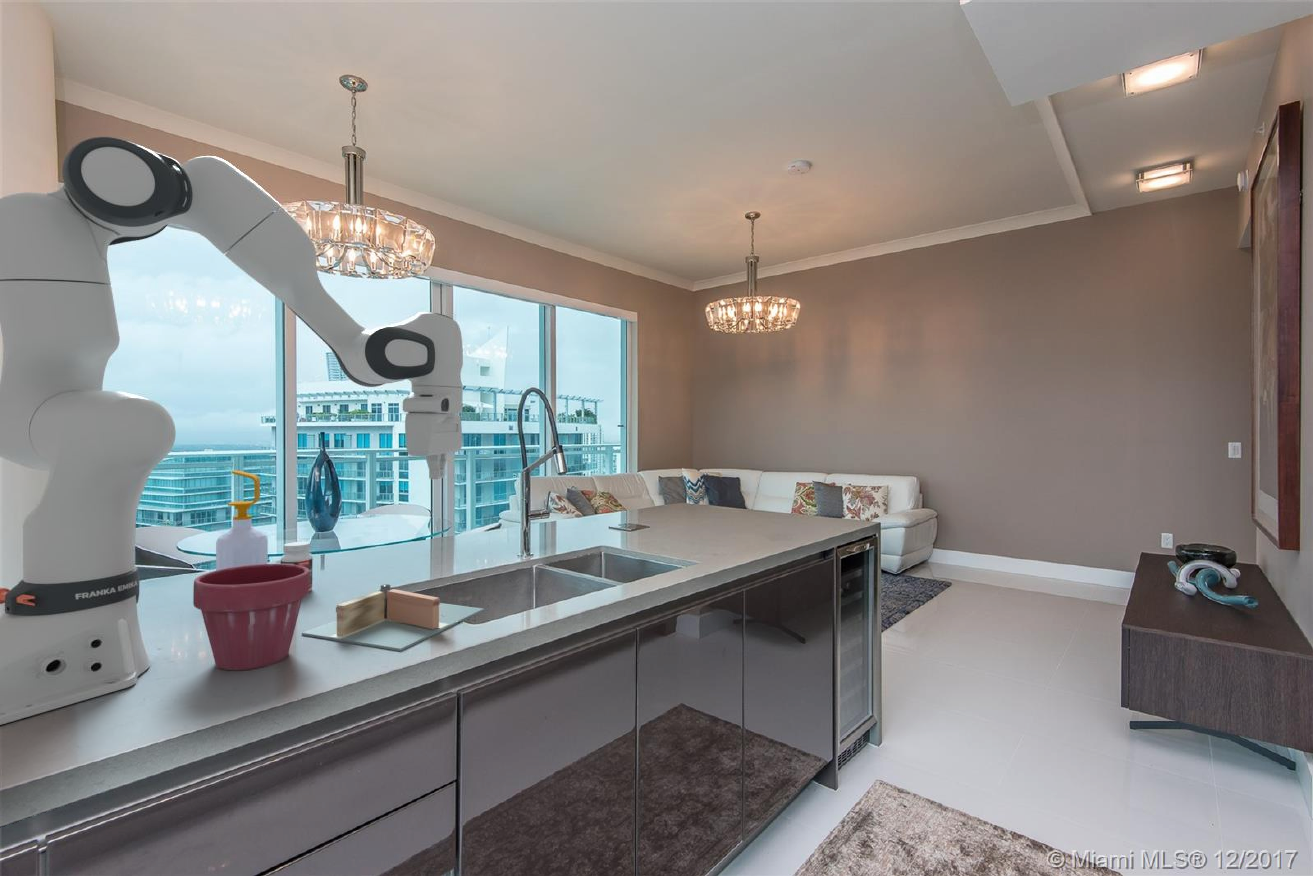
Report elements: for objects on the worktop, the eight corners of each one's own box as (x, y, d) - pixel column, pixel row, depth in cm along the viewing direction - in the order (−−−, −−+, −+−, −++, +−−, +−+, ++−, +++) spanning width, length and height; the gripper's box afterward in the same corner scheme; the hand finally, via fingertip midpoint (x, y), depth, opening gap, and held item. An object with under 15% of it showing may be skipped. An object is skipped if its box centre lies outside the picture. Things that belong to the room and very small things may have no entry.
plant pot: (312, 637, 100) (313, 559, 100) (304, 668, 87) (304, 579, 87) (206, 649, 94) (206, 566, 94) (180, 685, 81) (180, 589, 81)
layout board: (400, 651, 94) (400, 648, 94) (301, 635, 101) (301, 632, 101) (483, 610, 115) (483, 608, 115) (397, 599, 122) (397, 597, 122)
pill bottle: (301, 595, 123) (301, 546, 123) (274, 595, 123) (274, 546, 123) (318, 588, 129) (318, 541, 129) (291, 587, 129) (291, 540, 129)
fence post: (385, 619, 108) (385, 587, 108) (378, 618, 108) (378, 586, 108) (392, 617, 109) (392, 585, 109) (384, 616, 110) (385, 584, 110)
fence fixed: (344, 636, 99) (344, 606, 99) (335, 635, 100) (335, 605, 100) (385, 620, 108) (385, 592, 108) (376, 619, 108) (377, 591, 108)
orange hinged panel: (386, 619, 108) (386, 591, 107) (394, 616, 109) (394, 588, 109) (431, 629, 103) (431, 600, 102) (439, 626, 104) (440, 597, 104)
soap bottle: (221, 582, 132) (221, 469, 131) (270, 579, 135) (270, 468, 135) (211, 593, 123) (211, 472, 123) (264, 589, 127) (264, 471, 127)
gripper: (438, 404, 122) (438, 473, 122) (398, 401, 102) (397, 483, 102) (470, 405, 122) (469, 474, 123) (436, 401, 102) (435, 484, 102)
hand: (436, 478), depth 112 cm, fingers closed
